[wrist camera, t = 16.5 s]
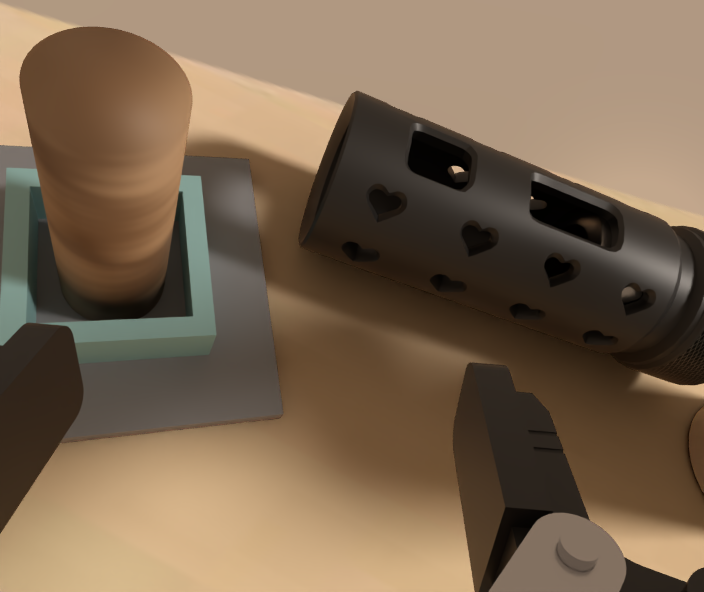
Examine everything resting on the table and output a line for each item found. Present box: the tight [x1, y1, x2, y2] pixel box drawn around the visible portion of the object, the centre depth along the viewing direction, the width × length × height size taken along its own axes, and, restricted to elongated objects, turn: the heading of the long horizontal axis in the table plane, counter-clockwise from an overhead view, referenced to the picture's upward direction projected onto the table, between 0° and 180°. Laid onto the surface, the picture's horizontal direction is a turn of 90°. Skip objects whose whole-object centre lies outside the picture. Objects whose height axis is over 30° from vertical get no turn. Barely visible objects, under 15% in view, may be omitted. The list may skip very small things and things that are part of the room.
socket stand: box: [0, 145, 283, 443], centre depth 29 cm, size 16×16×4 cm
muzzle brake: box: [299, 91, 704, 385], centre depth 35 cm, size 10×28×10 cm, turn 78°
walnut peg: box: [20, 27, 192, 321], centre depth 24 cm, size 5×5×14 cm
